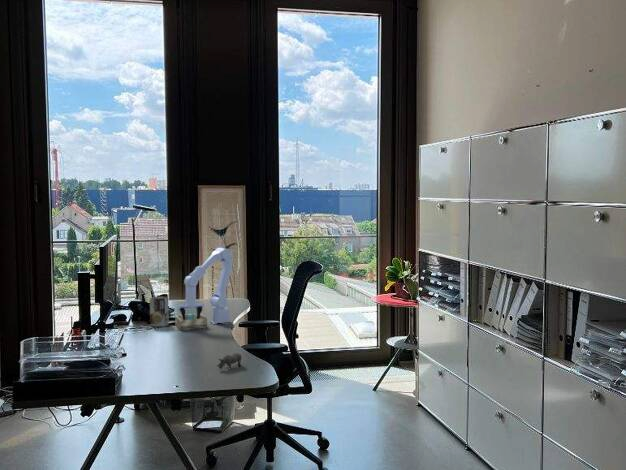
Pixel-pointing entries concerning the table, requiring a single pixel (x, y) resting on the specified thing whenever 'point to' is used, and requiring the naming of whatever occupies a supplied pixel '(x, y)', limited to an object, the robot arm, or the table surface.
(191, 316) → the peg
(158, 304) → the coffee box
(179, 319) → the box
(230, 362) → the rhino figurine
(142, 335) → the table surface
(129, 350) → the table surface
